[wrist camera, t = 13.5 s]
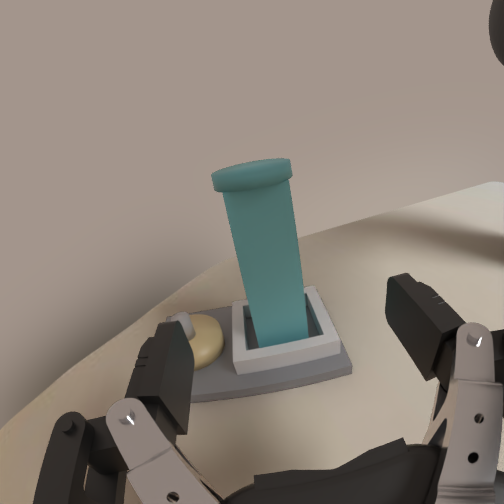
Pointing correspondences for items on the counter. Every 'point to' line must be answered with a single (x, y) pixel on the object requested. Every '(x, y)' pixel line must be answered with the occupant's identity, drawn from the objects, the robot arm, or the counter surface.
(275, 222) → the lidded tumbler
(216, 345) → the housing
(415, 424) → the counter surface
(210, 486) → the robot arm
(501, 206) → the counter surface
